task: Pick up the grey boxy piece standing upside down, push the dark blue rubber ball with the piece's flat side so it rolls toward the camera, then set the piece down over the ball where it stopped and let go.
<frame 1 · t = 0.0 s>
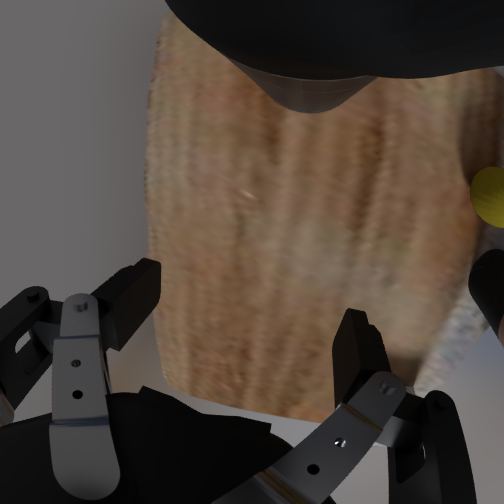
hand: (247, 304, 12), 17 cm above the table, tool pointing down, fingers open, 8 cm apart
travel mug: (489, 274, 26), on the table
lemon: (476, 186, 22), on the table
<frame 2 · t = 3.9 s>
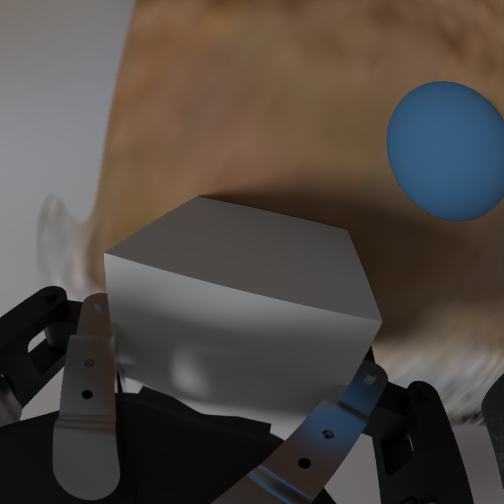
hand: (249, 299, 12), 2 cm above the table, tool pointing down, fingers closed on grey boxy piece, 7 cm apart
ball: (451, 150, 8), on the table
grey boxy piece: (256, 279, 14), on the table, touching gripper
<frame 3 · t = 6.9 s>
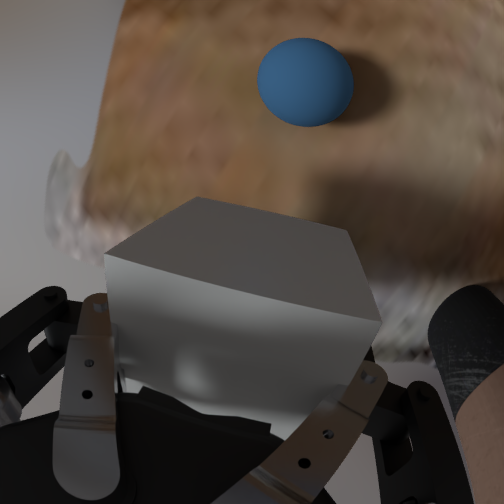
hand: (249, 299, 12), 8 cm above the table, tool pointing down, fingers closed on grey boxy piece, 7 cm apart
travel mug: (461, 320, 19), on the table
ball: (305, 81, 13), on the table
grey boxy piece: (256, 280, 14), point 6 cm above the table, touching gripper
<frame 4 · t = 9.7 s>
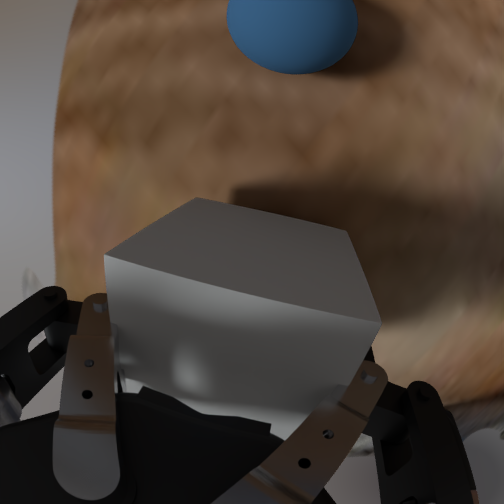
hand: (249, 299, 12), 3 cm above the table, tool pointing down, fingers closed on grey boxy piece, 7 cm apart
travel mug: (416, 429, 19), on the table
ball: (292, 17, 8), on the table
grey boxy piece: (256, 280, 14), point 1 cm above the table, touching gripper
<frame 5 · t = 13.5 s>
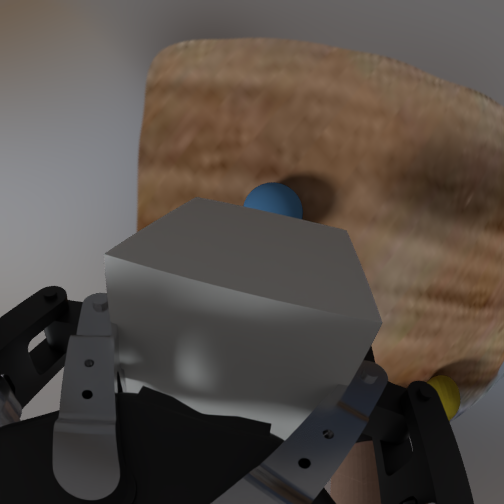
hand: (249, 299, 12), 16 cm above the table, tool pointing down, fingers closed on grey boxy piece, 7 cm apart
travel mug: (357, 404, 35), on the table
ball: (272, 212, 24), on the table
grey boxy piece: (256, 280, 14), point 14 cm above the table, touching gripper
lemon: (432, 377, 31), on the table
when the fingers open (2 cm above the table, at t = 16.9 s): grey boxy piece stays where it is, on the table.
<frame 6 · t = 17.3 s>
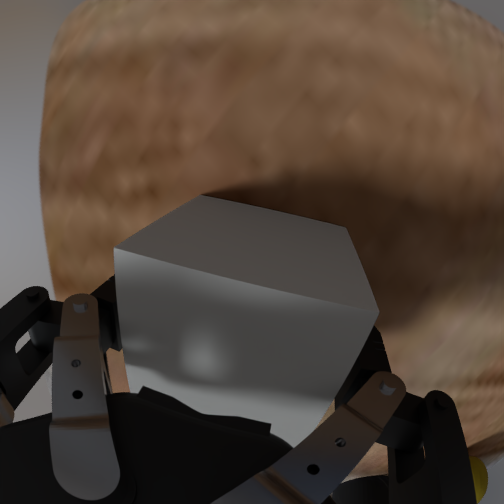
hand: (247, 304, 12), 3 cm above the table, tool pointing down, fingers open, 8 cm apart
travel mug: (363, 485, 22), on the table
grey boxy piece: (258, 276, 14), on the table
lemon: (457, 454, 19), on the table
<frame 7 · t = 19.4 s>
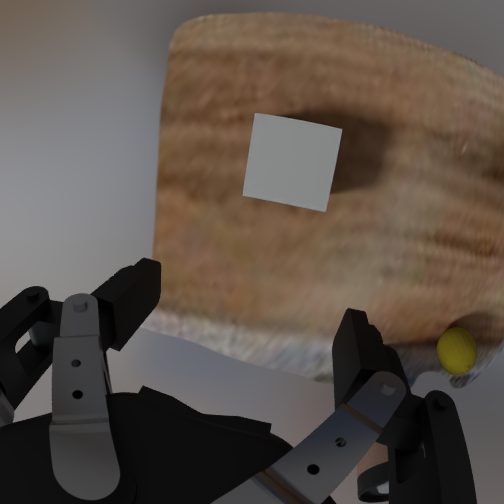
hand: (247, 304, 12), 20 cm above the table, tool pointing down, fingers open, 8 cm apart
travel mug: (374, 362, 36), on the table
grey boxy piece: (294, 157, 28), on the table
lemon: (446, 331, 32), on the table
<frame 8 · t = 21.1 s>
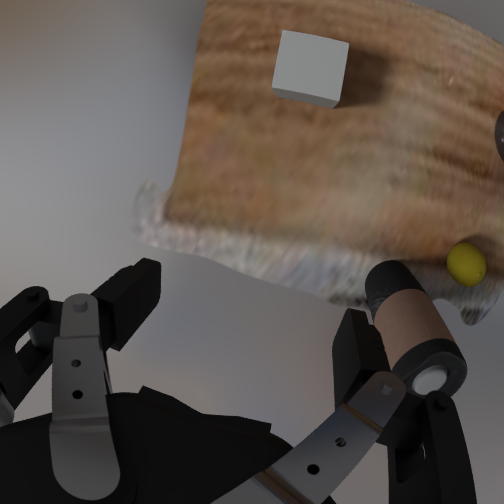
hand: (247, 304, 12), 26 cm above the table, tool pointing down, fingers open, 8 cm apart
travel mug: (387, 282, 38), on the table
grey boxy piece: (309, 77, 30), on the table
lemon: (453, 252, 34), on the table
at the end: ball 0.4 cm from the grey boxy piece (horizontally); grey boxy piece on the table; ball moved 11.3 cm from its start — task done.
